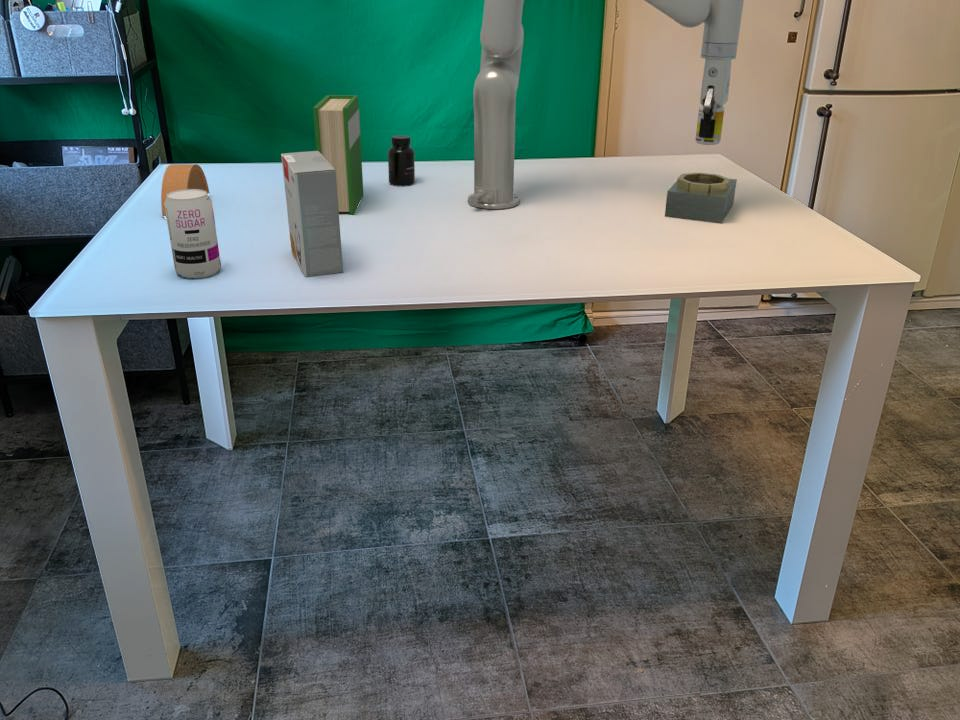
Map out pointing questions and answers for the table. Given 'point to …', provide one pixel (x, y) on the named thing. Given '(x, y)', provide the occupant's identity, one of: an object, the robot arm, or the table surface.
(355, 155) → the hardback book
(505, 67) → the robot arm
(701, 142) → the supplement bottle
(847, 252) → the table surface
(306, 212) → the hard drive box
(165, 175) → the arch
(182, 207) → the supplement can
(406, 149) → the supplement bottle
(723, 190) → the grey block with ring
